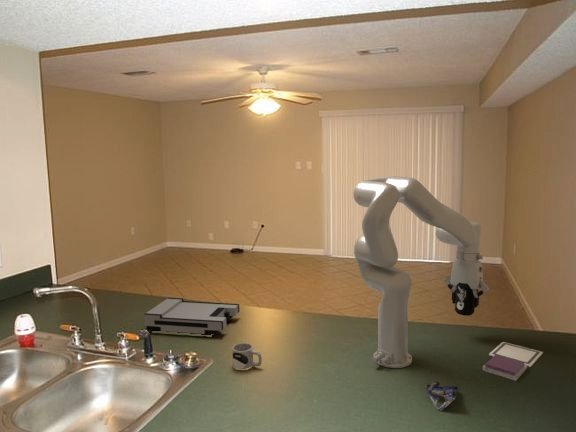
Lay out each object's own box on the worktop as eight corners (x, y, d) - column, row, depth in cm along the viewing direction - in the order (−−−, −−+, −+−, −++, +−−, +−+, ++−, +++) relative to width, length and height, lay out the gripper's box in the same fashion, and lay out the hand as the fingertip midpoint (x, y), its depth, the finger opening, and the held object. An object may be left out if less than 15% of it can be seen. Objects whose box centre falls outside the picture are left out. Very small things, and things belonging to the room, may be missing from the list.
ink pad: (516, 380, 139) (516, 374, 138) (482, 370, 146) (482, 364, 145) (526, 368, 146) (527, 362, 146) (494, 359, 153) (494, 353, 152)
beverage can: (475, 316, 164) (477, 283, 162) (456, 315, 165) (458, 282, 163) (472, 310, 170) (474, 278, 168) (453, 309, 171) (455, 277, 170)
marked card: (530, 367, 147) (530, 365, 147) (488, 355, 156) (488, 353, 156) (542, 353, 156) (543, 351, 156) (502, 342, 165) (502, 341, 165)
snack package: (411, 400, 130) (450, 416, 122) (413, 378, 130) (452, 392, 122) (432, 391, 139) (470, 405, 130) (434, 370, 139) (472, 383, 130)
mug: (229, 369, 151) (228, 350, 150) (238, 360, 157) (237, 341, 156) (257, 373, 147) (257, 354, 146) (265, 364, 153) (265, 345, 152)
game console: (222, 340, 174) (221, 319, 173) (145, 334, 182) (143, 314, 180) (239, 319, 195) (239, 301, 193) (169, 315, 202) (168, 297, 200)
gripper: (496, 258, 161) (493, 308, 164) (448, 251, 173) (446, 297, 176) (488, 262, 156) (485, 313, 159) (439, 254, 168) (437, 302, 170)
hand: (464, 304), depth 167 cm, fingers closed on beverage can, 6 cm apart
